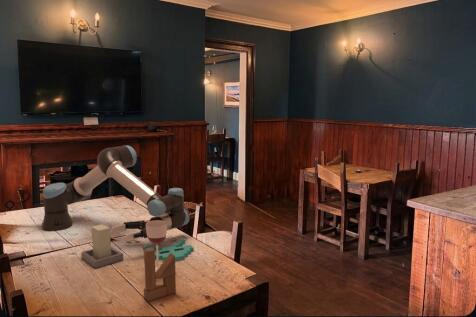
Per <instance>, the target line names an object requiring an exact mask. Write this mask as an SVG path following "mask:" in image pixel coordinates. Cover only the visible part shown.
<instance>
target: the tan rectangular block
mask: <svg viewBox="0 0 476 317" xmlns="http://www.w3.org/2000/svg"><path fill="white" fill-rule="evenodd" d="M91 240H92V243H91V244H92V249H93V258H95V259H96V260H99V259H102V258H106V257H109V256H111V247H112V245H111V243H112V242H111V227H109V226H107V225H105V224H98V225H94V226H93V225H92V226H91Z"/></svg>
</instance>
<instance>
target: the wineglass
mask: <svg viewBox="0 0 476 317" xmlns="http://www.w3.org/2000/svg"><path fill="white" fill-rule="evenodd" d="M146 222H147V223H146V232H147V239H148V241H149V242H150V243H152V244H154V245H155V247H156V255H157V260H156V266H155V272H156V271H157V270H158V269H159V267H160V265H159V264H160V262H159V261H160V260H159V258H158V247H159V244H162V243H163V242H164V241H165V240H166V237H167V233H168V232H167V231H168V230H167V222H166V221H162V220H154V221H150V220H149V221H146Z"/></svg>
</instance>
